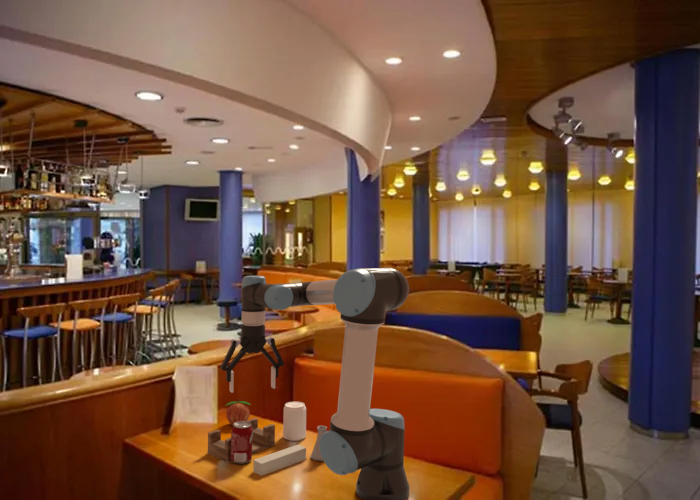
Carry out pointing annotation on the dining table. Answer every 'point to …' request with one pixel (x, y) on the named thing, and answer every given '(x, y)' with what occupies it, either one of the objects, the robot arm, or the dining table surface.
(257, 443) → the rack
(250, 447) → the soda can
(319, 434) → the flask
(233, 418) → the fruit
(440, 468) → the dining table surface
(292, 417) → the beverage can
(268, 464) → the white rectangular bar
